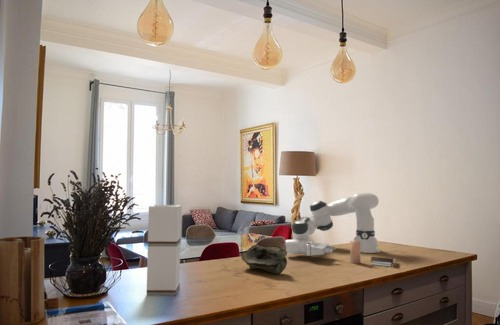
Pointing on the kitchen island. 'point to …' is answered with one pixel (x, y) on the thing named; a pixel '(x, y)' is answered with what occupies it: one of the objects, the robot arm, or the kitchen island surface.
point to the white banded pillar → (164, 250)
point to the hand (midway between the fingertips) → (334, 249)
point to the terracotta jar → (355, 252)
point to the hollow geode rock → (266, 258)
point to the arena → (383, 261)
